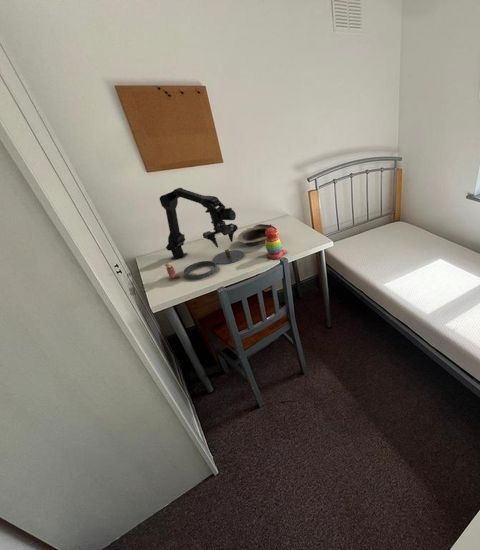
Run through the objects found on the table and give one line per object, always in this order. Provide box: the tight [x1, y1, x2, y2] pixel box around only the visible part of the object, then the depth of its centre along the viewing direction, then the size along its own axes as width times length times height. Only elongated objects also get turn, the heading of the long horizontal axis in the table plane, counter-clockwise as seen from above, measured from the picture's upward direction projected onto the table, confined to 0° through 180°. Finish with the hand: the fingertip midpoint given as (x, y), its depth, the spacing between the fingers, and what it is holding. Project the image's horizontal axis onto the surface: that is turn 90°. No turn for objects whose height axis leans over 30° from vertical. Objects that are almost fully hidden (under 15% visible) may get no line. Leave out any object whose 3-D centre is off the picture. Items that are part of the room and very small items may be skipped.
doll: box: [164, 261, 179, 281], centre depth 156 cm, size 4×4×10 cm
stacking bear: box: [264, 227, 287, 260], centre depth 176 cm, size 11×10×18 cm
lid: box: [212, 248, 245, 265], centre depth 177 cm, size 18×18×6 cm
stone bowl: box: [237, 223, 278, 247], centre depth 195 cm, size 25×25×9 cm
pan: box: [183, 260, 219, 281], centre depth 163 cm, size 17×17×3 cm
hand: (224, 244), depth 173 cm, fingers open, 9 cm apart
